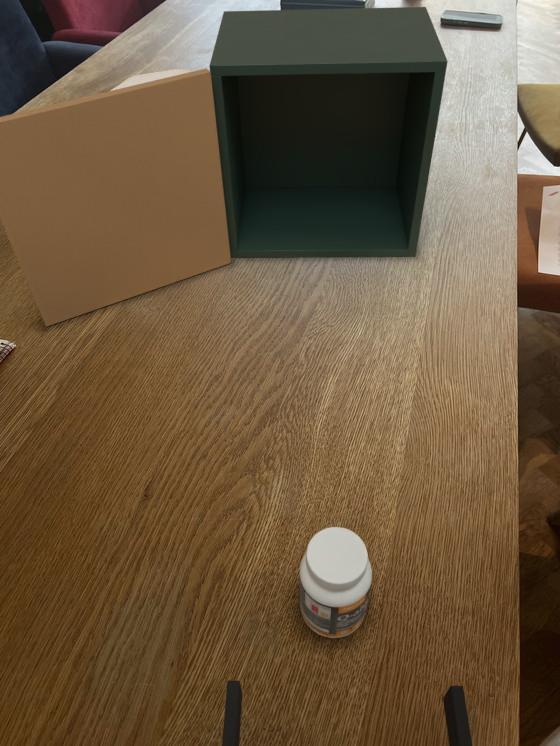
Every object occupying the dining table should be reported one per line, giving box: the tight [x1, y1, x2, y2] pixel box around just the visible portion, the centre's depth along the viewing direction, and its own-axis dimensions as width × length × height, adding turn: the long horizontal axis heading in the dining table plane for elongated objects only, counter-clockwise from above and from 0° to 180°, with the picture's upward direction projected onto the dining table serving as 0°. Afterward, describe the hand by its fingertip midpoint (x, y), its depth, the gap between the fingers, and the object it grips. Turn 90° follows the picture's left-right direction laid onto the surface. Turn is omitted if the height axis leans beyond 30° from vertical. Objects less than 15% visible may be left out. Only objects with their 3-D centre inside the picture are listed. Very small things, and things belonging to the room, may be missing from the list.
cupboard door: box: [0, 68, 232, 328], centre depth 75 cm, size 7×26×26 cm, turn 118°
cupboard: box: [209, 6, 449, 259], centre depth 84 cm, size 18×26×26 cm
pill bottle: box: [299, 526, 373, 639], centre depth 50 cm, size 6×6×10 cm
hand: (343, 688), depth 38 cm, fingers open, 13 cm apart
